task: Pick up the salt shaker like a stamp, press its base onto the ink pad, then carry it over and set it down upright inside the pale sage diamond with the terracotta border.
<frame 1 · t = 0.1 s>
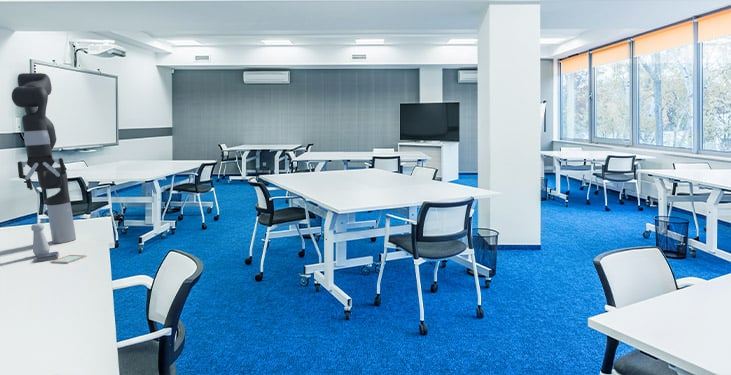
hand: (45, 188, 179), 29 cm above the table, fingers open, 8 cm apart
ink pad: (48, 258, 194), on the table
salt shaker: (42, 255, 199), on the table
marked square: (68, 259, 191), on the table
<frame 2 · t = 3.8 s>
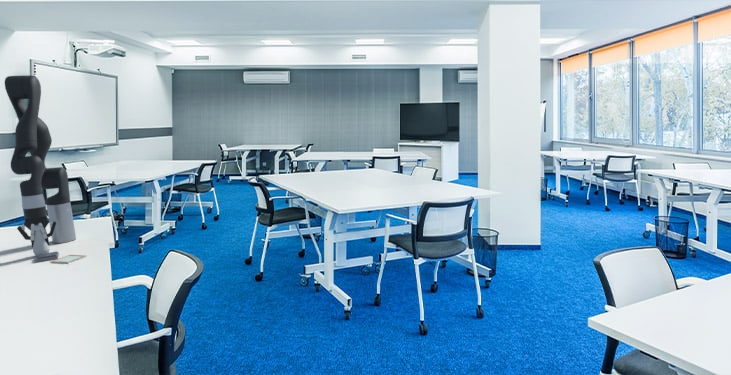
hand: (41, 247, 199), 3 cm above the table, fingers closed on salt shaker, 3 cm apart
salt shaker: (42, 255, 200), on the table, touching gripper
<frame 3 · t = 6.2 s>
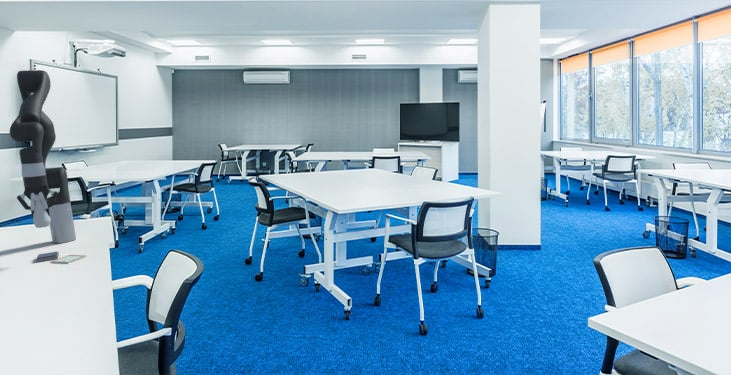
hand: (41, 218, 192), 16 cm above the table, fingers closed on salt shaker, 3 cm apart
salt shaker: (43, 227, 192), point 13 cm above the table, touching gripper
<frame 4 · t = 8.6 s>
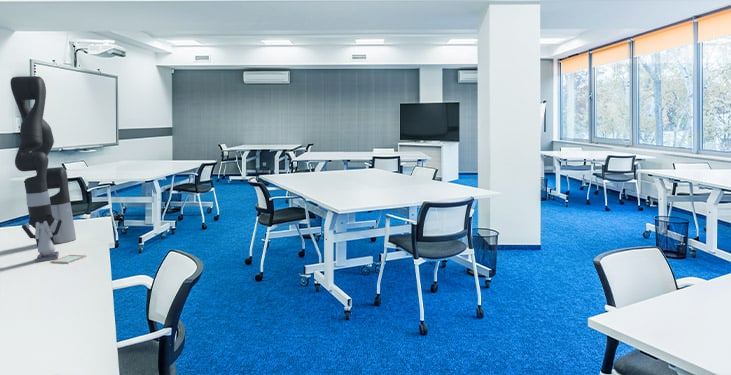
hand: (46, 246, 193), 5 cm above the table, fingers closed on salt shaker, 3 cm apart
salt shaker: (47, 255, 194), point 1 cm above the table, touching gripper, ink pad
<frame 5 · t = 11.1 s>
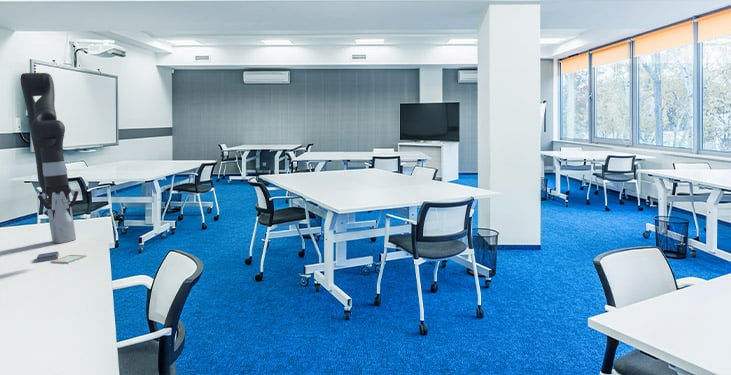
hand: (62, 218, 188), 16 cm above the table, fingers closed on salt shaker, 3 cm apart
salt shaker: (63, 227, 189), point 13 cm above the table, touching gripper
when the fingers open (4 cm above the table, at t = 13.4 s): salt shaker stays where it is, resting on marked square.
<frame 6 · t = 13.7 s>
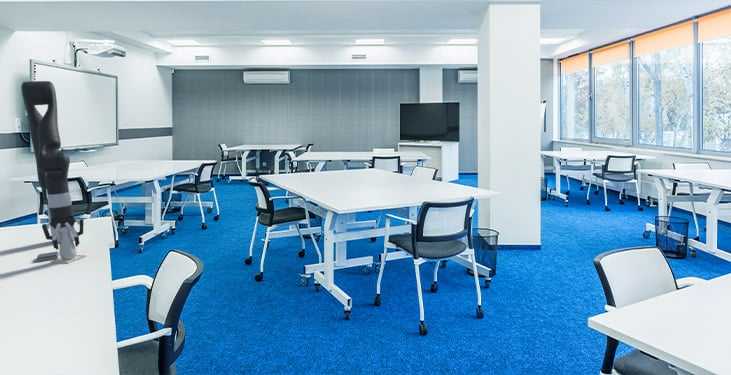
hand: (67, 247, 190), 5 cm above the table, fingers open, 6 cm apart
salt shaker: (69, 259, 191), resting on marked square
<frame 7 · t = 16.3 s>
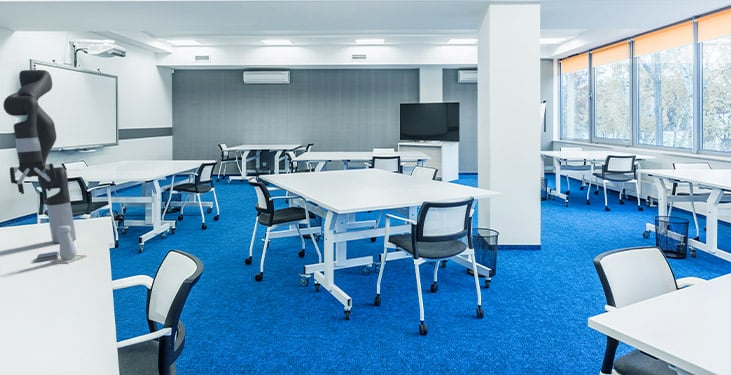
hand: (36, 192, 189), 27 cm above the table, fingers open, 8 cm apart
nothing on the table moved.
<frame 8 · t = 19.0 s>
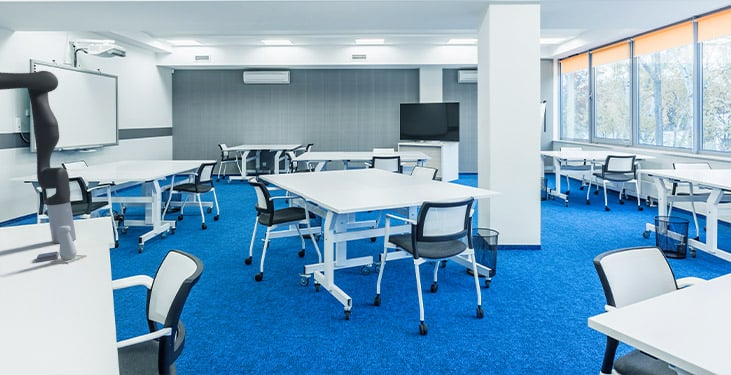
nothing on the table moved.
at the end: salt shaker 0.1 cm off-centre on the marked square, point 0.1 cm above the marked square's base; salt shaker tilted 0°; the gripper is holding nothing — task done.
